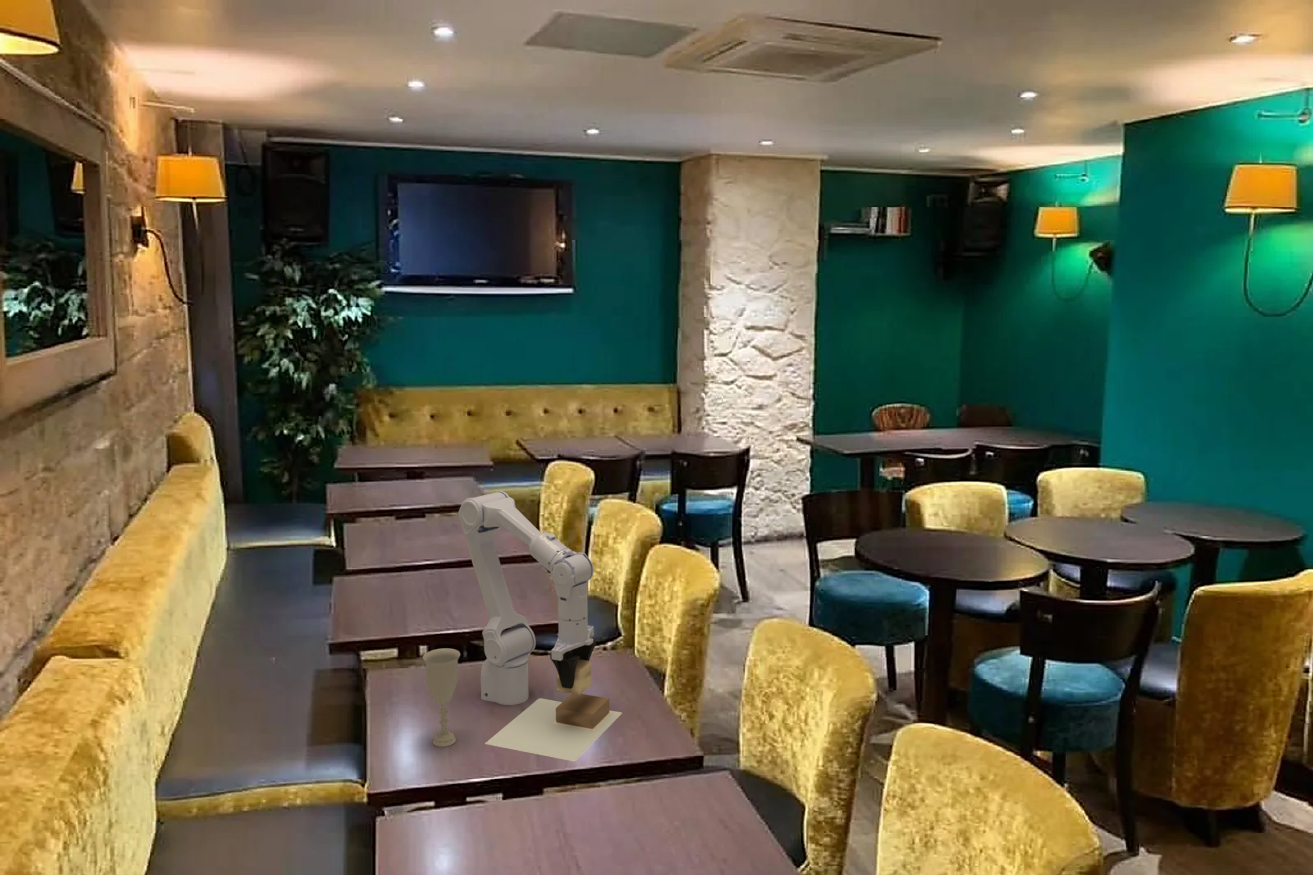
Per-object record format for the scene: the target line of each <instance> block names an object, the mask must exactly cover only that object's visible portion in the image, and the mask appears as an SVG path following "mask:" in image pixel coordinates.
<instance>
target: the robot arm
mask: <svg viewBox="0 0 1313 875" xmlns="http://www.w3.org/2000/svg"><path fill="white" fill-rule="evenodd" d="M457 514H458V515H457V516H458V519H459V521H460V526H461V527H462V532H463V535H464V539H465V543H466V546H467V550H468V552H469V555H470V559H471V562H472V566H473V569H474V573H475V575H476V578H477V583H478V585H479V586H478V587H479V589H480V592H481V596H482V598H483V602H484V606H485V609H486V612H487V616H488V618H489V620H488V622H487V624H486V625H485V627H484V629H483V630H482V637H483V641H484V642H483V648H484V649H483V651H484V654H485V656H486V659H485V660H484V662H483V663H482V666H481V669H480V698H481V700H482V701H486V702H487V701H488V702H493V703H496V704H498V705H502V706H503V705H504V706H514V705H520V704H523V703H525V702H526V701H527V700H529V695H530V694H529V659H530V658H531V653H532V652H534V650H535V648H536V643H537V641H536V636H535V633H534V631H533V629H532V628H531V627H530V625H529V623H528V620H527V617H525V616H524V615H522V614H520V613H518V612H516V611H515V607H514V604H513V600H512V598H511V594H510V592H509V588H508V585H507V582H506V578H505V575H504V572H503V568H502V564H501V562H500V558H499V554H498V552H497V549H496V545H495V543H494V539H495V536H496V535H497V533H498V532H499V530H501V528H504V529H505V530H507V531H508V532H510V533H511V534H512V535H513V536H515V537H517V538H518V539H519V540H520V541H522V542H523V543H525V544H526V545H527V546H528V548H529V555H530V556H532V557H533V559H534V560H536V561H537V562H538V563H539V564H541V565H542V566H543V568H545V569H546V570H547V571H549V573H550V577H551V580H552V582H553V584H554V587H555V593H556V595H557V608H558V610H557V613H558V614H557V616H558V617H557V620H558V622H557V623H558V637H557V638H556V642H555V645H554V647H553V648H552V649H551V652H550V654H549V658H550V660H551V663H553V665H554V667H555V668H556V672H557V671H558V674H559V678H560V681H561V685H562V687H563V688H569V689H572V688H573V685H574V678H575V669H576V665H577V662H578V660H579V659H580V660H586V661H591V656H592V654H593V651H594V649H595V648H596V646H597V641H596V640H594V639H593V637H594V636H595V631H594V629H595V627H594V626H593V625H589V623H588V622H589V621H588V618H589V616H588V615H589V614H588V613H589V611H588V608H589V607H588V582H589V581H590V580H592V577H593V575H594V565H593V563H592V560H591V558H590V557H589V556H587V554H586V553H584V552H576V551H575V550H574V551H573V550H572V549H570V548H569V547H567V546H566V545H565V544H564V543H562V541H560V540H559V539H558V538H557V535H555V534H554V533H553V532H548V531H547V532H541V531H540V530H538V528H536V526H535V525H533V523H532V522H531V521H530V520H528V518H527V517H525V515H524V514H522V512H520V511H519V509H517V508H516V502H515V499H514V498H513V497H510V496H509V494H508V493H507V492H505V491H503V490H497V491H494V492H492V493H488V494H483V495H478V496H474V497H468V498H465V499H464V500H463V501H462V503H461V505H460V507H459V510H458V513H457ZM506 629H507V630H506Z"/></svg>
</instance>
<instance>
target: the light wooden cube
mask: <svg viewBox="0 0 1313 875" xmlns="http://www.w3.org/2000/svg"><path fill="white" fill-rule="evenodd" d="M591 661H592V660H589V661H586V660H580V659H579V660H578V662H577V665H576V669H575V678H574V685H573V688H572V689H569V688H563V687H562V685H561V681H560V678H559V674H558V671H557V670H556V691H557V692H561V693H562V692H563V693H567V694H578V695H580V694H584V692H585V691H587V689H588V688H590V687H591V686H592V662H591Z"/></svg>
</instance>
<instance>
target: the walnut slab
mask: <svg viewBox="0 0 1313 875" xmlns="http://www.w3.org/2000/svg"><path fill="white" fill-rule="evenodd" d="M561 702H562V703H561V704H560V705H559V706H558V707H556V722H557V723H562V724H568V725H573V726H579V727H584V728H589V729H593V728H594V727H595V726H596V725H597V724H598V723H599V722H600V721H601V720H602V719H603V718H604V717H605V716H606V715H607V714H608V713H609V710H610V698H609V697H604V696H597V695H590V694H585V693H582V694H580V695H578V694H572V693H570V695H569V696H567V698H566V699H564V700H563V701H561Z"/></svg>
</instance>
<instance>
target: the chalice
mask: <svg viewBox="0 0 1313 875" xmlns="http://www.w3.org/2000/svg"><path fill="white" fill-rule="evenodd" d="M460 656H461V653H460V651H459V650H457V649H454V648H447V647H446V648H437V649H432V650H430V651H428V652H426V653H424V655H422V660H423V662H424V663H425V675H426V677H425V679H426V685H427V688H428V689H429V693H430V694H431V696H432V698H433V699H434V701H435V702H436V703H437V704H439V705H440V711H439V715H440V716H441V717H440V721H439V722H438V723H439V724H440V726H441V730H440V731H438V733H436V734H435V736H434V739H433V741H432V743H433V745H434V746H435V747H439V748H446V747H450V746H452V745H454V744H455V743H456V742H457V739H456V737H455V735H454V733H452V731H449V730H448V728H447V726H448V723H449V722H450V721H449V720H448V718H447V714H448V713H449V712H448V710H447V703H449V702H451V700H452V698H453V695H454V693H455V691H456V688H457V685H458V681H459V667H458V666H459V663H458V662H459V658H460Z"/></svg>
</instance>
